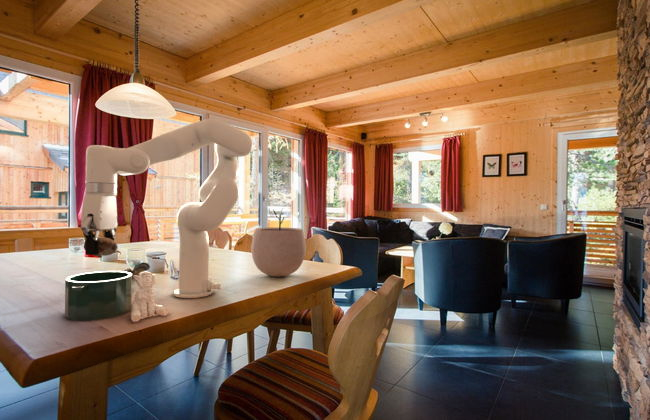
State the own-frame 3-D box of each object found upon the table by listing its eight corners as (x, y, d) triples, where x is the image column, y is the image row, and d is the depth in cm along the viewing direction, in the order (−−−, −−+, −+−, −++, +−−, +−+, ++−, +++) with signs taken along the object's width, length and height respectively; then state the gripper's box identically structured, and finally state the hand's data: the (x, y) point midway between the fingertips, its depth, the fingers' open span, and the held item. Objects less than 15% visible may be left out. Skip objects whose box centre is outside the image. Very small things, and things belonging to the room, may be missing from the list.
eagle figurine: (146, 278, 137) (154, 270, 146) (134, 264, 136) (144, 256, 145) (129, 288, 138) (139, 279, 146) (118, 274, 136) (128, 266, 145)
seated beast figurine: (132, 323, 90) (133, 276, 90) (119, 315, 95) (120, 272, 95) (168, 315, 97) (169, 272, 97) (155, 308, 103) (155, 268, 102)
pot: (144, 301, 110) (145, 269, 110) (108, 324, 89) (108, 284, 89) (92, 301, 109) (93, 269, 109) (43, 324, 88) (44, 284, 88)
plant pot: (314, 273, 161) (315, 208, 161) (288, 283, 139) (289, 208, 139) (270, 268, 171) (271, 207, 171) (239, 277, 149) (240, 207, 149)
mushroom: (97, 247, 93) (100, 228, 96) (73, 257, 94) (78, 238, 98) (121, 258, 99) (124, 239, 103) (99, 267, 101) (103, 249, 104)
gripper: (104, 191, 107) (103, 248, 107) (67, 188, 90) (65, 257, 90) (130, 191, 107) (129, 249, 108) (97, 188, 90) (96, 257, 90)
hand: (100, 252), depth 99 cm, fingers closed on mushroom, 7 cm apart
